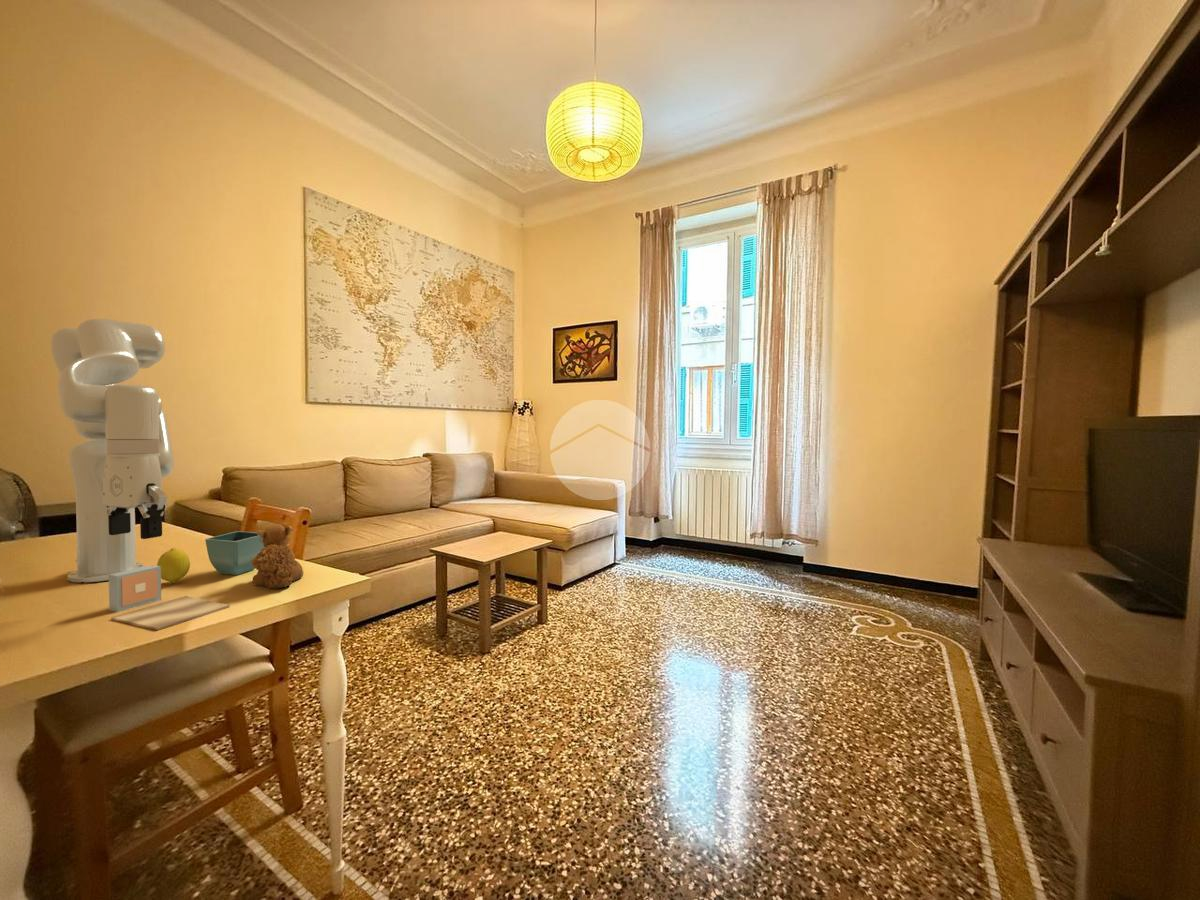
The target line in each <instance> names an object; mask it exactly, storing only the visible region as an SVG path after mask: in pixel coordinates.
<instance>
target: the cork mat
mask: <svg viewBox="0 0 1200 900" xmlns="http://www.w3.org/2000/svg"><path fill="white" fill-rule="evenodd" d="M229 608H230V604H228V603H227V604H226V603H221V602H217V601H212V600H206V599H203V598H196V597H192V596H187V595H184V596H182V597H178V598H173V599H171V600H168V601H164V602H160V603H156V604H153V605H150V606H146V607H141V608H139V609H136V610H133V611H128V612H125V613H122V614H118V615H114V616H111V621H112V620H113V621H116V622H121V623H124V624H127V625H128V624H129V625H132V626H136V627H140V626H141V628H146V629H148V630H153V631H161V630H163V629H167V628H170V627H173V626H175V625H178V624H182V623H185V622H188V621H192V620H195V619H197V618H201V617H203V616H206V615H210V614H213V613H215V612H218V611H222V610H225V609H229Z"/></svg>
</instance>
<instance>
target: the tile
mask: <svg viewBox="0 0 1200 900" xmlns="http://www.w3.org/2000/svg"><path fill="white" fill-rule="evenodd" d="M108 596H109V598H108V600H109V601H108V603H109V605H108V606H109V607H108V608H109V611H110V612H115V613H120V612H124V611H127V610H130V608H131V609H135V608H139V607H142V606H146V605H148V604H152V603H155V602H159V601H160V602H161V601H162V578H161V566H157V565H156V564H155V565H154V564H153V565H147V566H146V565H145V567H142V568H137V569H132V570H128V571H123V572H118V573H114V574H109V580H108ZM134 607H135V608H134Z"/></svg>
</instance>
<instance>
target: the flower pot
mask: <svg viewBox="0 0 1200 900" xmlns="http://www.w3.org/2000/svg"><path fill="white" fill-rule="evenodd" d="M261 538H262V537H261V536H259V535H258V534H257V532H253V531H240V530H237V531H233V532H229V533H225V534H220V535H216V536H213V537H208V538H205V545H206V550H207V555H208V559H209V561H210V563H211V566H212V567H213V568H214V570H216V571H217V572H218V573H219V574H222V575H233V576H238V575H241V574H244V573H247V572H251V571H253V570H255V569H256V568H254V567H252V566H253V565H252V563H251V562H250V561H252V560H253V558H254V557H256V556H257V555H258V553H259V552H261V550H263V549H262V548H263V547H264V544H263V542H262V540H263V538H262V539H261ZM260 539H261V540H260ZM259 540H260V541H259ZM258 541H259V542H258ZM261 542H262V543H261Z"/></svg>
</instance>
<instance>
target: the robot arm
mask: <svg viewBox="0 0 1200 900" xmlns="http://www.w3.org/2000/svg"><path fill="white" fill-rule="evenodd" d="M50 349H51V354H52V357H53V361H54V364H55V366H56V368H57V369H58V371H59V373H60V375H59V376H58V380H57V391H58V392H57V393H58V397H59V398H58V399H59V403H60V407H61V410H62V413H63V414H64V416H65V417H66V418H67V419H68V420H71V421H73V422H74V428H75V431H76V432H77V434H78V435H79V436H80V437H81V438H84V439H87V440H88V441H83V442H80V443H78V444H76V445H73V447H72V448H71V450H70V451H69V453H68V461H69V467H70V472H71V475H72V480H73V485H74V491H75V493H74V494H75V515H76V517H75V518H76V555H77V557H76V560H75V562H76V563H77V566H76V567H77V570H74V571H71V572H70V573H69V574H67V581H68V580H69V581H68V582H70V581H71V582H72V583H81V582H84V583H95V582H96V583H97V582H104V581H109V574H114V573H118V572H123V571H128V570H132V569H137V568H142V567H146V565H145V564H144V563H140V562H137V561H136V560H137V558H136V512H135V511H136V509H135V508H136V507H137V508H138V510H139V512H140V514H141V515H142V517H140V518H139V519H140V522H139V525H140V526H139V528H140V530H139V531H140V539H142V540H149V539H154V538H160V537H162V536H163V516H164V510H165V509H166V503H167V500H168V496H167V494H166V493H165V492H163V482H162V479H163V478H166V477H168V476H170V474H172V472H173V469H174V466H175V465H174V464H175V463H174V462H175V461H174V453H173V446H172V441H171V436H170V431H169V427H168V426H169V424H168V420H167V416H166V414H165V412H164V410H163V409H162V408H163V404H162V400H161V397H160V396H159V393H158V391H157V390H156V389H155V388H154V387H151V386H145V385H133V384H120V383H123V382H127V381H129V380H130V379H132V378H134V377H135V376H136V375H137V374H138V373H139V369H149V368H151V367H152V366H154V365H156V364H157V363H158V362H160V361H161V360H162V358H163V357H164V356H165V352H166V351H165V350H166V343H165V339H164V336H163V335H162V333H161V332H160V330H158V329H157V328H156V327H154V326H151V325H147V324H142V323H134V322H127V321H122V320H121V321H120V320H115V319H114V320H113V319H107V318H106V319H105V318H92V319H87V320H84V321H83V322H81V323H80V324H79V325H77V327H69V328H62V329H58V330H56V331H55V332H54V333H53V334H52V336H51V340H50ZM71 582H70V583H71Z"/></svg>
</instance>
